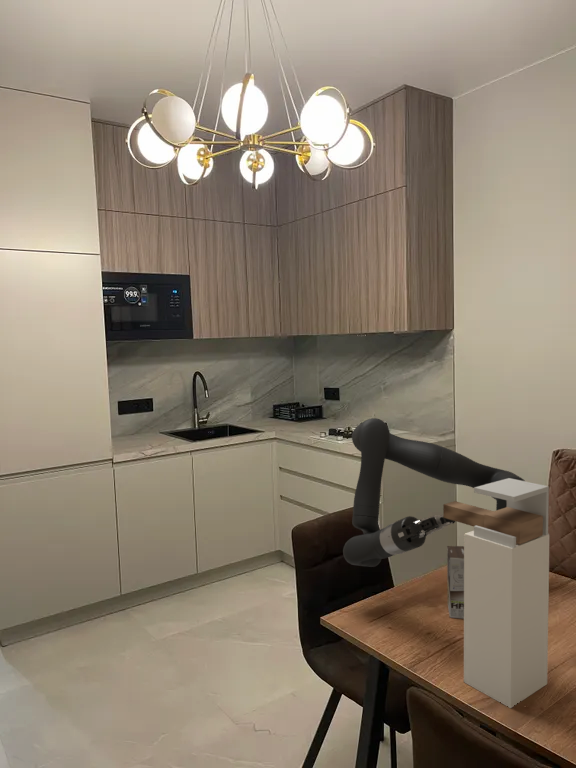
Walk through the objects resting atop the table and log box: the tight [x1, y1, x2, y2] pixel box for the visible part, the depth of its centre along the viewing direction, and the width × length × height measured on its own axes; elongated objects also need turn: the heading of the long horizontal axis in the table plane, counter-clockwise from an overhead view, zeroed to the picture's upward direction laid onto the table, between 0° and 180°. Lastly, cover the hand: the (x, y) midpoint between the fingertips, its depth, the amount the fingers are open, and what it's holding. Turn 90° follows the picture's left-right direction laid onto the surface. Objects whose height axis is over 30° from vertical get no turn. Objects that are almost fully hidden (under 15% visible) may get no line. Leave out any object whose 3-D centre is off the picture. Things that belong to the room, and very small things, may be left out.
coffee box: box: [446, 545, 464, 620], centre depth 154 cm, size 9×6×16 cm
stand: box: [463, 478, 550, 709], centre depth 120 cm, size 11×13×42 cm
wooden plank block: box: [442, 500, 543, 544], centre depth 123 cm, size 20×8×4 cm, turn 36°
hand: (448, 517), depth 131 cm, fingers open, 8 cm apart
